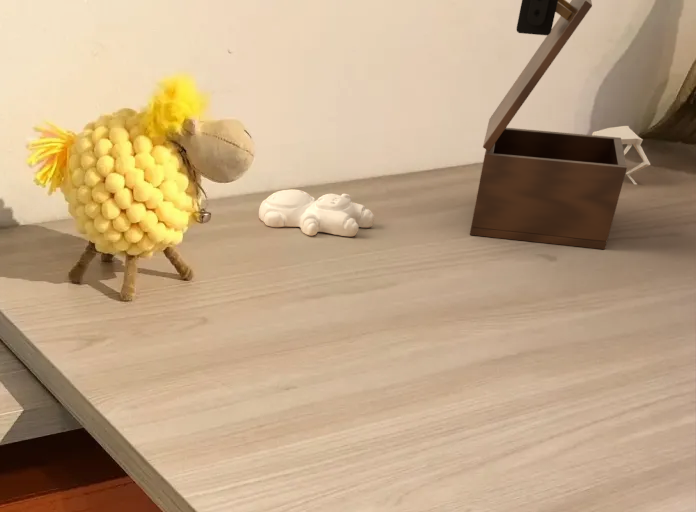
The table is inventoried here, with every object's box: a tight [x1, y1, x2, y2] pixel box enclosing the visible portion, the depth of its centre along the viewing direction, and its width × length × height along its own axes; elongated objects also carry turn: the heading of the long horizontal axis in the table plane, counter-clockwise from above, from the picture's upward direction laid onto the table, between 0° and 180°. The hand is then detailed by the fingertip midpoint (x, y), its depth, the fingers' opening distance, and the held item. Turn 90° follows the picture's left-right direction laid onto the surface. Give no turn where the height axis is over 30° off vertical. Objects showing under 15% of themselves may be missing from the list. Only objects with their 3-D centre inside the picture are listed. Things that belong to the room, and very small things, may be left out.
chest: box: [469, 127, 628, 250], centre depth 109 cm, size 14×13×8 cm
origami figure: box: [591, 125, 651, 186], centre depth 126 cm, size 12×8×5 cm
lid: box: [482, 0, 593, 151], centre depth 102 cm, size 14×13×5 cm
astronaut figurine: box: [258, 188, 375, 238], centre depth 109 cm, size 9×12×3 cm
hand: (533, 25), depth 100 cm, fingers closed on lid, 6 cm apart
